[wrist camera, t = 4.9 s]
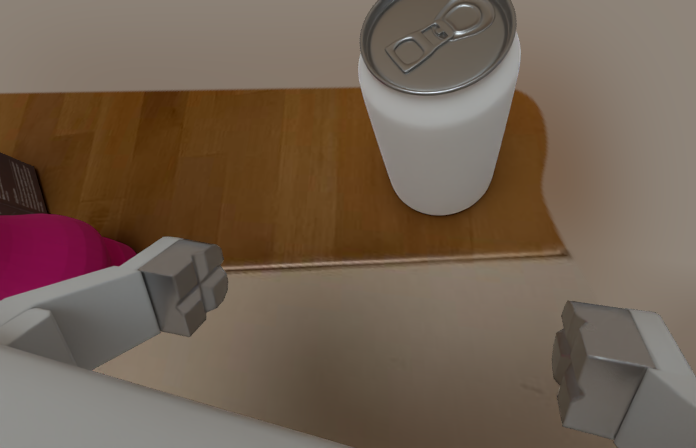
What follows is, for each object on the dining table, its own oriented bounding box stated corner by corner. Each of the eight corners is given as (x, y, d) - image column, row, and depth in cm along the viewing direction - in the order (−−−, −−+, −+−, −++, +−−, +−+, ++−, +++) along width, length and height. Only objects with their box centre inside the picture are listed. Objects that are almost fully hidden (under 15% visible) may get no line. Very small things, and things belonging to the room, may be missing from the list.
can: (515, 180, 24) (573, 31, 13) (425, 237, 24) (407, 138, 13) (453, 109, 27) (457, -66, 16) (372, 161, 27) (319, 25, 16)
